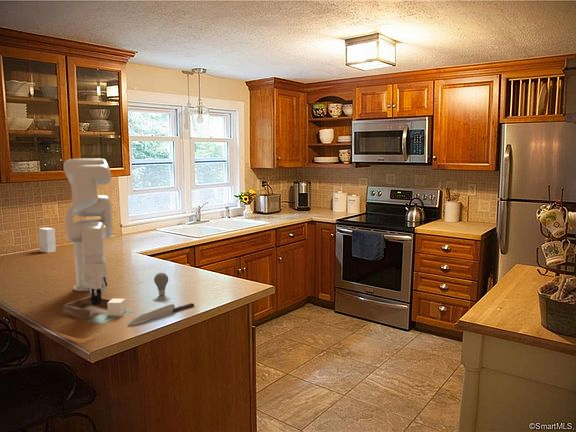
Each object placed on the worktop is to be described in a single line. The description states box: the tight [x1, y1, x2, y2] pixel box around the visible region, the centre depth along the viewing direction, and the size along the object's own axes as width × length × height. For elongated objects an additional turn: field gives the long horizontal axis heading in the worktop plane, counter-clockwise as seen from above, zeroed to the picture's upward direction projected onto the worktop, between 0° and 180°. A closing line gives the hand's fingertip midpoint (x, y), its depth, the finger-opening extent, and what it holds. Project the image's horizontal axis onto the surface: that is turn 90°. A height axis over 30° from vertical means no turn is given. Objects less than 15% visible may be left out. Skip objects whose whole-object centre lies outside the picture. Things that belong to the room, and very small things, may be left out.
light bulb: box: [153, 272, 169, 296], centre depth 205 cm, size 6×6×10 cm
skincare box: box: [38, 227, 57, 254], centre depth 295 cm, size 8×6×15 cm
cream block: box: [107, 298, 127, 317], centre depth 180 cm, size 5×5×5 cm
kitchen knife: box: [125, 302, 195, 328], centre depth 180 cm, size 4×1×30 cm
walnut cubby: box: [60, 295, 135, 325], centre depth 182 cm, size 16×23×4 cm
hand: (96, 304), depth 182 cm, fingers closed
